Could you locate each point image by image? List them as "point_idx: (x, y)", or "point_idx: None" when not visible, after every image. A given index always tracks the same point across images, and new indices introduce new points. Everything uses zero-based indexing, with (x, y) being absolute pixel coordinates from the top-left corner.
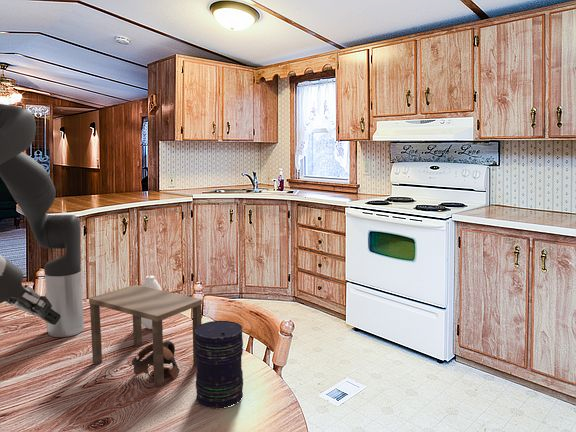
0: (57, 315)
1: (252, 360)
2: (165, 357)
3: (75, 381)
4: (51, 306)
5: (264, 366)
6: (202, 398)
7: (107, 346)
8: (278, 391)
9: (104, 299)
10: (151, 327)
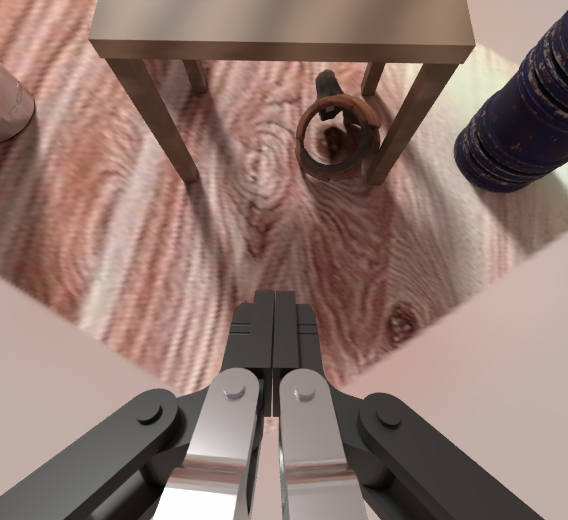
0: (314, 319)
1: None
2: (378, 125)
3: (220, 249)
4: (412, 416)
5: None
6: (508, 185)
7: None
8: None
9: (156, 22)
10: None
